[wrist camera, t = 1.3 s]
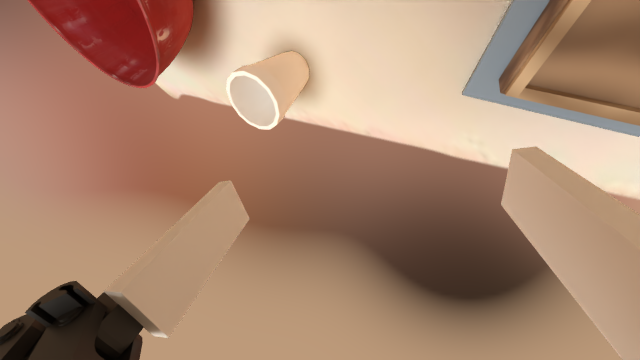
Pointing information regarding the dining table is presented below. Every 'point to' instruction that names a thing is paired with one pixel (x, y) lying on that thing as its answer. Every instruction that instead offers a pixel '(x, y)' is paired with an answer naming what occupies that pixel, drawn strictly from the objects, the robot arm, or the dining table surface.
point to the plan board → (499, 54)
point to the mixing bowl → (122, 33)
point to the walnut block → (581, 59)
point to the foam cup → (267, 88)
